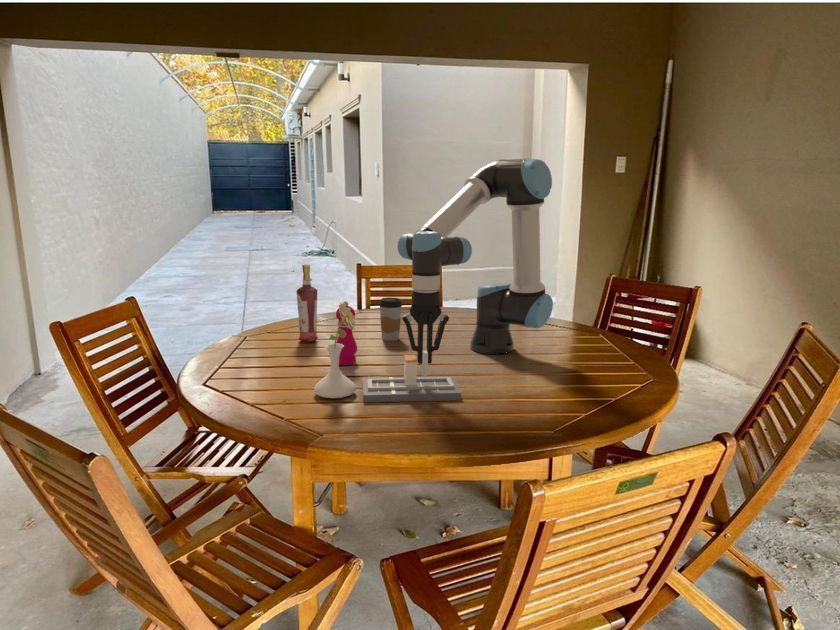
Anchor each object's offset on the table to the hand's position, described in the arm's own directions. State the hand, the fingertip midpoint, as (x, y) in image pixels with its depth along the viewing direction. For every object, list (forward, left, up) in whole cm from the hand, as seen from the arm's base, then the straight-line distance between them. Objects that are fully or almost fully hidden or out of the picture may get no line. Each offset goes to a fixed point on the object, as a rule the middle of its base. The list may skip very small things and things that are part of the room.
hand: (424, 374), depth 158 cm
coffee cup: (+6, -57, -5) cm, 58 cm away
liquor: (+36, -55, -5) cm, 66 cm away
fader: (+4, 0, -3) cm, 5 cm away
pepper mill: (+22, -29, -5) cm, 37 cm away
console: (+4, 0, -5) cm, 6 cm away
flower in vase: (+24, 0, -5) cm, 24 cm away
